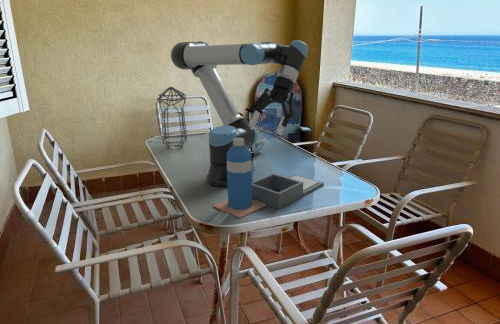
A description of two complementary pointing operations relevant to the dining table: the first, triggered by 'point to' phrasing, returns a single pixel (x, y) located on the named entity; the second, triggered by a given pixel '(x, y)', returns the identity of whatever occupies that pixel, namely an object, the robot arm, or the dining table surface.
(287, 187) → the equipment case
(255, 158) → the dining table surface
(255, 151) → the chinaware
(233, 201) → the water bottle
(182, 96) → the geometric lantern
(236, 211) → the terracotta tile
